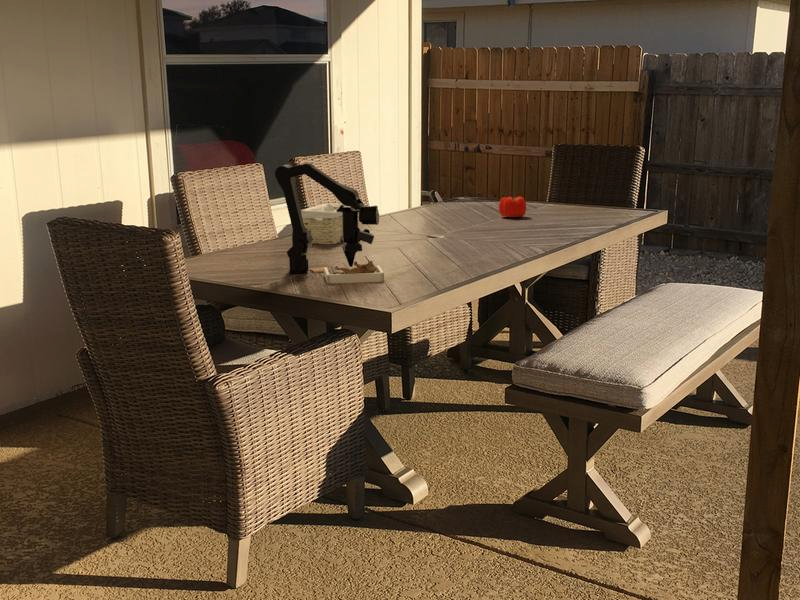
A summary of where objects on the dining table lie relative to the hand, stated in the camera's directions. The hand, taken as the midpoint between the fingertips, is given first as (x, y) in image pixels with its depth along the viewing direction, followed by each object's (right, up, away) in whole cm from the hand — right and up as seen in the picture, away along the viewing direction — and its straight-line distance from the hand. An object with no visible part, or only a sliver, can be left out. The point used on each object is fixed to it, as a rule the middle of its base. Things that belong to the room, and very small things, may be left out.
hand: (351, 266), depth 352 cm
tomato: (+74, +29, +134) cm, 156 cm away
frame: (+1, -5, -8) cm, 9 cm away
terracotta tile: (-12, -2, +6) cm, 14 cm away
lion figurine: (-1, 0, -2) cm, 2 cm away
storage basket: (-13, +14, +72) cm, 74 cm away
